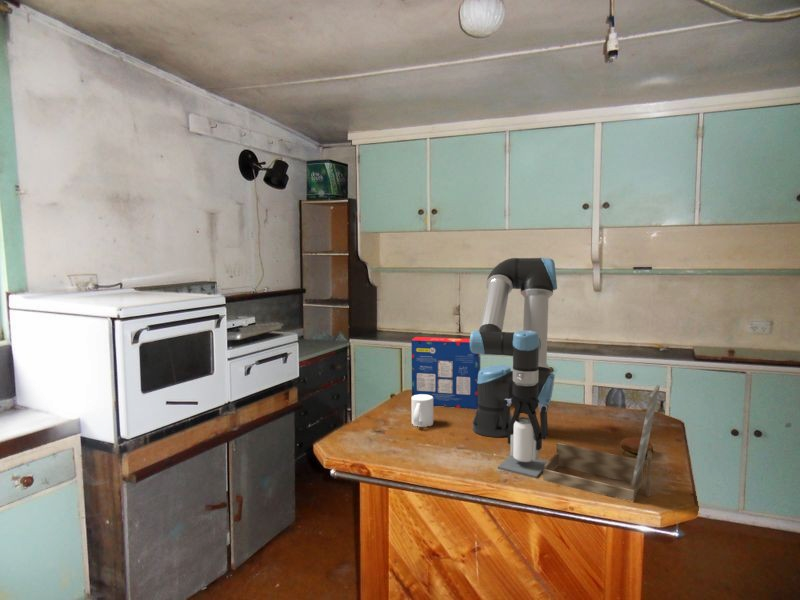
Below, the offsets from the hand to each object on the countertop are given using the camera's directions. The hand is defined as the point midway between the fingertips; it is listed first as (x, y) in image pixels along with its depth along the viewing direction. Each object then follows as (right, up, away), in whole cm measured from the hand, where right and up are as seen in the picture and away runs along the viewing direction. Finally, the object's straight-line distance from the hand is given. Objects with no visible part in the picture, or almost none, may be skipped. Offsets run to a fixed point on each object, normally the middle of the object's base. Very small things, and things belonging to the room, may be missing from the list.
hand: (524, 456), depth 158 cm
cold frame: (+18, -4, -12) cm, 22 cm away
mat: (0, -3, 0) cm, 3 cm away
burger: (+38, -2, +9) cm, 39 cm away
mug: (-30, 0, +38) cm, 48 cm away
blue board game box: (-18, +3, +63) cm, 66 cm away
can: (0, -1, 0) cm, 1 cm away
